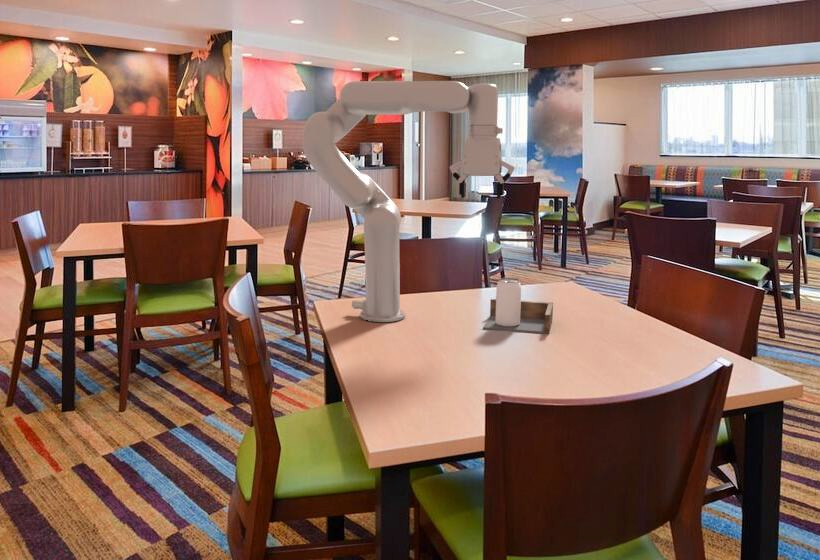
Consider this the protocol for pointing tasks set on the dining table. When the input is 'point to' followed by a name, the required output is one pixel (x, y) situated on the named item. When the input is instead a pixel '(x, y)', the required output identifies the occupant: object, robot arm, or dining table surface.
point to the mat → (524, 326)
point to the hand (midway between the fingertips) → (481, 197)
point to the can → (508, 302)
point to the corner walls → (532, 311)
